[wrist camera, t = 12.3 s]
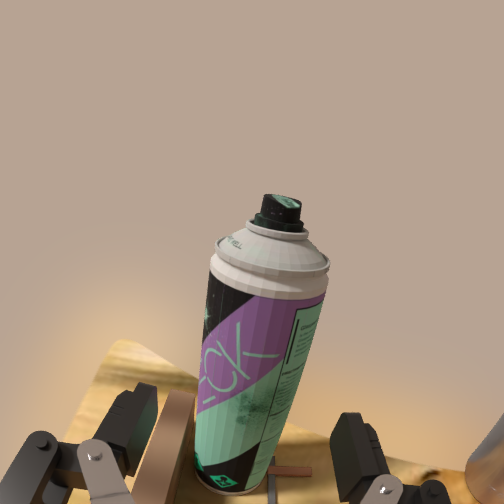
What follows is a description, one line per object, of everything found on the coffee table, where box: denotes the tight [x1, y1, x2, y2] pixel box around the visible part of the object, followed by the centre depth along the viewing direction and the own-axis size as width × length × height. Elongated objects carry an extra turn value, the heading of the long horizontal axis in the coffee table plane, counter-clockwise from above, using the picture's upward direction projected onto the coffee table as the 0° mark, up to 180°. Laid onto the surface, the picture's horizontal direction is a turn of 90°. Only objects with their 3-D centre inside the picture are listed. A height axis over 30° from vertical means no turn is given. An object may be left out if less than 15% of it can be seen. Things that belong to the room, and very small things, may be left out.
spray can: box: [194, 194, 330, 496], centre depth 16 cm, size 6×6×20 cm
